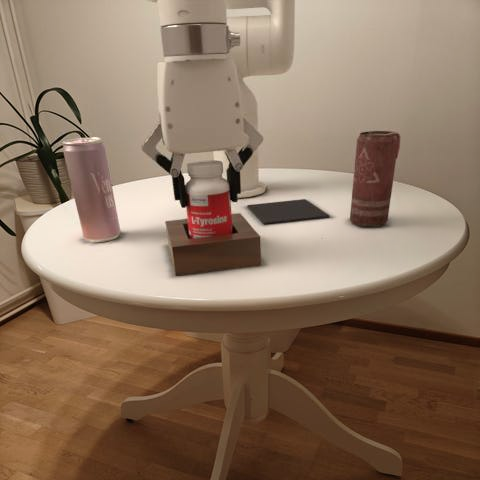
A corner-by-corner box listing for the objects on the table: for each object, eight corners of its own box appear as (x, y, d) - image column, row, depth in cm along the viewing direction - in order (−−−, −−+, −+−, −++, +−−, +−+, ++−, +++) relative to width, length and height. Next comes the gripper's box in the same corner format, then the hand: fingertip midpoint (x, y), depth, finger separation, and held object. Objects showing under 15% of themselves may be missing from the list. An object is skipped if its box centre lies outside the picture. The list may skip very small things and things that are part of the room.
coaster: (247, 207, 82) (247, 205, 82) (305, 201, 85) (305, 199, 84) (263, 224, 72) (263, 222, 72) (329, 217, 74) (329, 215, 74)
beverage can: (105, 229, 74) (86, 136, 66) (128, 234, 71) (111, 138, 63) (76, 239, 70) (52, 141, 62) (99, 245, 66) (77, 143, 59)
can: (390, 228, 68) (404, 134, 61) (349, 227, 69) (358, 135, 62) (387, 217, 73) (399, 129, 66) (349, 216, 74) (357, 130, 67)
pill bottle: (189, 252, 58) (178, 168, 52) (191, 238, 63) (183, 160, 58) (234, 249, 58) (228, 165, 52) (233, 235, 63) (228, 157, 58)
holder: (168, 246, 65) (165, 221, 63) (241, 237, 67) (240, 212, 65) (175, 276, 55) (171, 246, 53) (261, 264, 57) (260, 236, 55)
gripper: (259, 45, 53) (261, 189, 62) (119, 50, 50) (143, 201, 59) (277, 41, 47) (276, 203, 56) (118, 48, 44) (145, 217, 53)
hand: (208, 201), depth 58 cm, fingers closed on pill bottle, 6 cm apart
